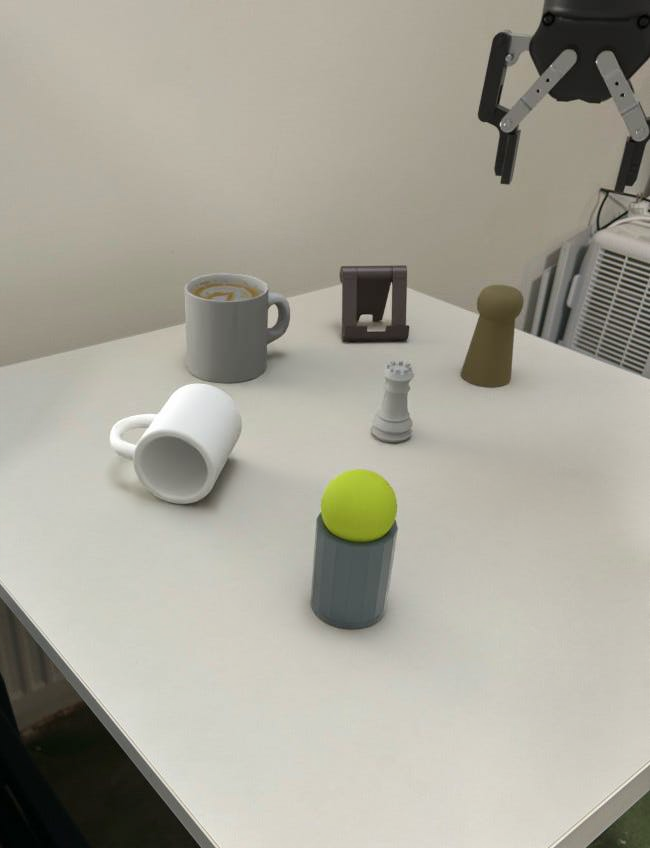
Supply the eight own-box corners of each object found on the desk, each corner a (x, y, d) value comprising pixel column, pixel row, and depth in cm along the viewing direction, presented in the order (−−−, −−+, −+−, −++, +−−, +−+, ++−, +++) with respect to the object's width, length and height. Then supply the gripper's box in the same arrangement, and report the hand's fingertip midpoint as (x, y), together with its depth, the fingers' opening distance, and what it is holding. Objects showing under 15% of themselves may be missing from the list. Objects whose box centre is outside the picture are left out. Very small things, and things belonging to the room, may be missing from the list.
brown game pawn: (510, 368, 103) (528, 281, 97) (511, 389, 99) (531, 299, 92) (461, 363, 104) (476, 277, 98) (459, 384, 100) (475, 294, 93)
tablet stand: (342, 343, 109) (347, 281, 104) (333, 321, 116) (337, 261, 111) (407, 342, 110) (416, 280, 105) (395, 320, 116) (402, 260, 111)
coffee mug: (195, 386, 98) (193, 304, 92) (180, 353, 106) (177, 276, 100) (302, 375, 101) (307, 295, 95) (280, 344, 109) (283, 268, 103)
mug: (242, 458, 85) (242, 387, 80) (215, 510, 77) (214, 435, 72) (132, 443, 87) (126, 373, 83) (96, 492, 79) (87, 419, 75)
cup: (393, 591, 68) (405, 511, 63) (374, 637, 63) (385, 554, 59) (324, 573, 70) (331, 494, 65) (300, 617, 65) (306, 535, 60)
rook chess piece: (363, 427, 91) (370, 359, 86) (400, 421, 92) (409, 354, 87) (381, 446, 87) (389, 377, 82) (419, 440, 88) (429, 371, 84)
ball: (401, 525, 64) (408, 463, 60) (382, 567, 60) (389, 503, 56) (332, 510, 66) (335, 449, 62) (309, 550, 61) (311, 487, 58)
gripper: (727, -68, 56) (657, 184, 66) (513, -67, 61) (477, 169, 70) (734, -68, 51) (657, 207, 60) (498, -67, 55) (461, 190, 65)
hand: (560, 186), depth 65 cm, fingers open, 8 cm apart
